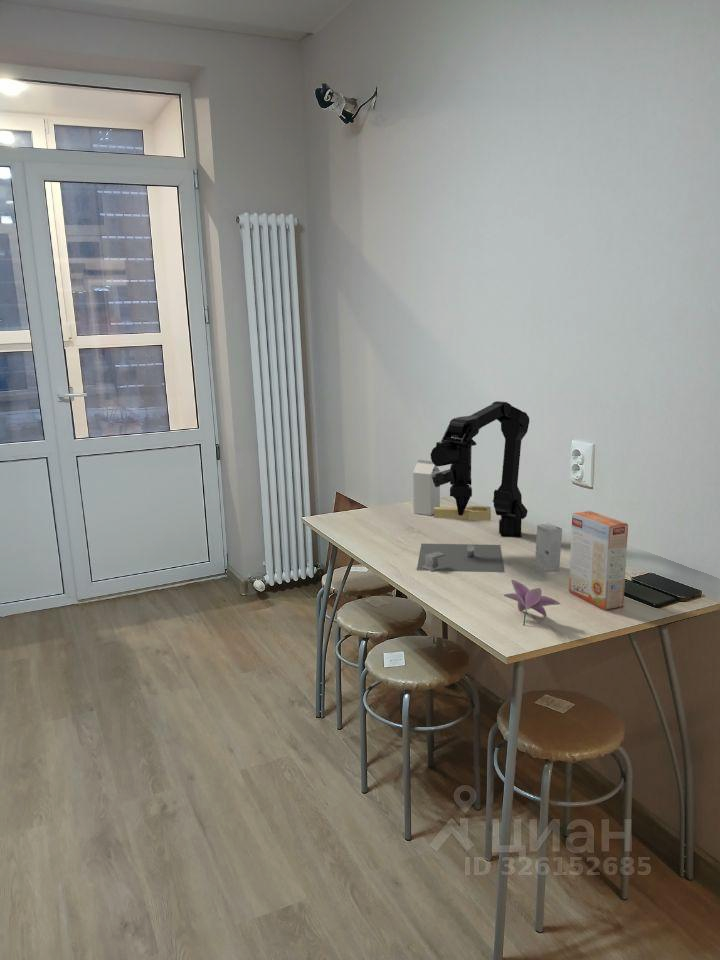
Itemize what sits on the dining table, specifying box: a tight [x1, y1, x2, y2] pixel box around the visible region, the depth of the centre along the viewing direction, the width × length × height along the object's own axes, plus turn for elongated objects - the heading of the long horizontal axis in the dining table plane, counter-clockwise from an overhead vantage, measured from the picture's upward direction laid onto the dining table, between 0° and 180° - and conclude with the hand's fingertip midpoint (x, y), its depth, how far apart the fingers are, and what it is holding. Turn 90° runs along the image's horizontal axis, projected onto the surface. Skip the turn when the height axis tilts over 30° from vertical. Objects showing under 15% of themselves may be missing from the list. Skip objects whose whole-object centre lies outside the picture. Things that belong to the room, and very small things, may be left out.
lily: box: [502, 579, 561, 626], centre depth 173 cm, size 12×12×10 cm
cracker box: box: [568, 510, 629, 611], centre depth 183 cm, size 14×6×21 cm, turn 21°
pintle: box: [467, 543, 474, 558], centre depth 218 cm, size 2×2×3 cm
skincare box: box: [534, 522, 563, 572], centre depth 207 cm, size 6×4×12 cm
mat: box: [416, 543, 505, 573], centre depth 219 cm, size 24×25×1 cm
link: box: [433, 505, 492, 522], centre depth 222 cm, size 16×6×3 cm, turn 82°
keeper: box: [421, 552, 445, 572], centre depth 210 cm, size 6×4×4 cm
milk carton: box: [412, 459, 441, 516], centre depth 268 cm, size 7×7×19 cm
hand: (460, 513), depth 222 cm, fingers closed on link, 3 cm apart
